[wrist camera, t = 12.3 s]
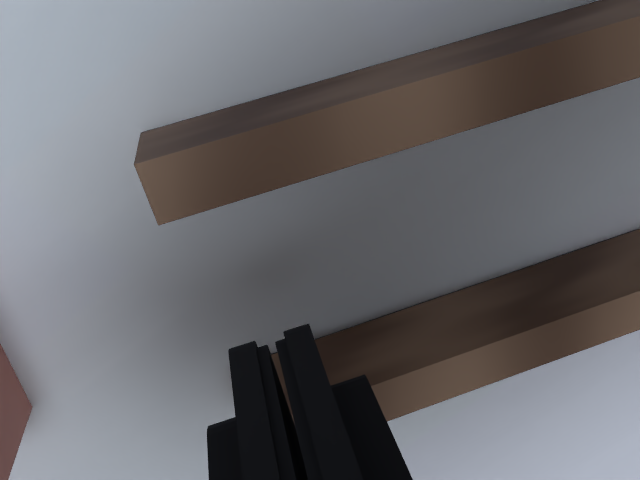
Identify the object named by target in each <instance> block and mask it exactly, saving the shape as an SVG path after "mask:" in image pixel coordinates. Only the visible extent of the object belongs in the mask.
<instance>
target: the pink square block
mask: <svg viewBox="0 0 640 480" xmlns="http://www.w3.org/2000/svg"><path fill="white" fill-rule="evenodd" d="M31 410H32V406H31V404H30V402H29V400H28V398H27V396H26V394H25V392H24V390H23V388H22V386H21V384H20V382H19V380H18V378H17V376H16V374H15V372H14V370H13V368H12V366H11V364H10V362H9V360H8V358H7V356H6V354H5V352H4V350H3V348H2V346H1V344H0V480H8V478H9V475H10V472H11V469H12V466H13V463H14V460H15V457H16V454H17V451H18V448H19V445H20V442H21V439H22V436H23V433H24V430H25V427H26V424H27V421H28V418H29V415H30V413H31Z"/></svg>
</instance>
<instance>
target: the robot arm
mask: <svg viewBox="0 0 640 480" xmlns="http://www.w3.org/2000/svg"><path fill="white" fill-rule="evenodd" d="M284 336H285V339H283V340H279V341H276V342H275V343H276V348H277V352H278V356H279V360H280V364H281V368H282V373H283V377H284V381H285V385H286V389H287V393H288V398H289V402H290V406H291V410H292V414H293V418H294V421H293V418H292V415H291V412H290V409H289V406H288V403H287V400H286V397H285V395H284V392H283V389H282V386H281V383H280V380H279V377H278V374H277V371H276V368H275V365H274V362H273V359H272V356H271V354H270V351H269V348H268V345H264V346H261V347H257V344H256V342H255V341H253V342H250V343H246V344H243V345H240V346H237V347H234V348H231V349H229V361H230V370H231V379H232V388H233V397H234V406H235V415H236V417H234V418H231V419H228V420H225V421H222V422H219V423H216V424H213V425H210V426H208V429H207V446H208V469H209V480H413V479H412V477H411V475H410V473H409V470H408V468H407V466H406V464H405V461H404V459H403V457H402V455H401V452H400V450H399V448H398V446H397V443H396V441H395V439H394V437H393V434H392V432H391V430H390V428H389V426H388V423H387V421H386V419H385V417H384V414H383V412H382V410H381V408H380V405H379V403H378V401H377V399H376V396H375V394H374V392H373V390H372V387H371V385H370V383H369V381H368V379H367V377H366V375H365V374H364V375H361V376H358V377H355V378H352V379H349V380H346V381H343V382H340V383H337V384H334V385H331V386H330V383H329V380H328V377H327V374H326V371H325V368H324V366H323V363H322V360H321V357H320V354H319V351H318V348H317V346H316V343H315V340H314V337H313V334H312V331H311V328H310V326H309V324H306V325H303V326H300V327H296V328H293V329H290V330H287V331H284ZM294 423H295V424H294Z"/></svg>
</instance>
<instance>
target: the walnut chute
mask: <svg viewBox="0 0 640 480" xmlns="http://www.w3.org/2000/svg"><path fill="white" fill-rule="evenodd" d="M639 77H640V0H600V1H596V2H593V3H589V4H586V5H582V6H579V7H576V8H572V9H569V10H565V11H562V12H558V13H555V14H551V15H548V16H544V17H541V18H537V19H534V20H530V21H527V22H524V23H520V24H517V25H513V26H510V27H506V28H503V29H499V30H496V31H492V32H489V33H485V34H482V35H478V36H475V37H472V38H468V39H465V40H461V41H458V42H454V43H451V44H447V45H444V46H440V47H437V48H433V49H430V50H426V51H423V52H419V53H416V54H413V55H409V56H406V57H402V58H399V59H395V60H392V61H388V62H385V63H381V64H378V65H374V66H371V67H367V68H364V69H361V70H357V71H354V72H350V73H347V74H343V75H340V76H336V77H333V78H329V79H326V80H322V81H319V82H315V83H312V84H309V85H305V86H302V87H298V88H295V89H291V90H288V91H284V92H281V93H277V94H274V95H270V96H267V97H263V98H260V99H256V100H253V101H250V102H246V103H243V104H239V105H236V106H232V107H229V108H225V109H222V110H218V111H215V112H211V113H208V114H204V115H201V116H198V117H194V118H191V119H187V120H184V121H180V122H177V123H173V124H170V125H166V126H163V127H159V128H156V129H152V130H149V131H146V132H142V133H141V134H140V139H139V144H138V148H137V153H136V158H135V162H134V166H135V168H136V171H137V173H138V176H139V178H140V181H141V183H142V186H143V188H144V191H145V193H146V196H147V198H148V201H149V203H150V206H151V208H152V211H153V213H154V216H155V218H156V221H157V223H158V225H161V224H165V223H168V222H171V221H174V220H178V219H181V218H184V217H187V216H191V215H194V214H197V213H200V212H204V211H207V210H210V209H213V208H217V207H220V206H223V205H226V204H230V203H233V202H236V201H239V200H243V199H246V198H249V197H252V196H256V195H259V194H262V193H265V192H269V191H272V190H275V189H278V188H282V187H285V186H288V185H291V184H295V183H298V182H301V181H304V180H308V179H311V178H314V177H317V176H321V175H324V174H327V173H330V172H334V171H337V170H340V169H343V168H346V167H350V166H353V165H356V164H359V163H363V162H366V161H369V160H372V159H376V158H379V157H382V156H385V155H389V154H392V153H395V152H398V151H402V150H405V149H408V148H411V147H415V146H418V145H421V144H424V143H428V142H431V141H434V140H437V139H441V138H444V137H447V136H450V135H454V134H457V133H460V132H463V131H467V130H470V129H473V128H476V127H480V126H483V125H486V124H489V123H493V122H496V121H499V120H502V119H506V118H509V117H512V116H515V115H519V114H522V113H525V112H528V111H532V110H535V109H538V108H541V107H545V106H548V105H551V104H554V103H558V102H561V101H564V100H567V99H571V98H574V97H577V96H580V95H584V94H587V93H590V92H593V91H597V90H600V89H603V88H606V87H610V86H613V85H616V84H619V83H623V82H626V81H629V80H632V79H636V78H639ZM637 330H640V229H638V230H635V231H632V232H629V233H626V234H623V235H620V236H617V237H614V238H612V239H609V240H606V241H603V242H600V243H597V244H594V245H591V246H588V247H585V248H582V249H579V250H576V251H573V252H571V253H568V254H565V255H562V256H559V257H556V258H553V259H550V260H547V261H544V262H541V263H538V264H535V265H532V266H530V267H527V268H524V269H521V270H518V271H515V272H512V273H509V274H506V275H503V276H500V277H497V278H494V279H491V280H489V281H486V282H483V283H480V284H477V285H474V286H471V287H468V288H465V289H462V290H459V291H456V292H453V293H450V294H448V295H445V296H442V297H439V298H436V299H433V300H430V301H427V302H424V303H421V304H418V305H415V306H412V307H409V308H407V309H404V310H401V311H398V312H395V313H392V314H389V315H386V316H383V317H380V318H377V319H374V320H371V321H368V322H365V323H363V324H360V325H357V326H354V327H351V328H348V329H345V330H342V331H339V332H336V333H333V334H330V335H327V336H324V337H322V338H319V339H316V340H315V343H316V346H317V348H318V351H319V354H320V357H321V360H322V363H323V366H324V368H325V371H326V374H327V377H328V380H329V383H330V386H331V385H334V384H337V383H340V382H343V381H346V380H349V379H352V378H355V377H358V376H361V375H364V374H365V375H366V377H367V379H368V381H369V383H370V385H371V387H372V390H373V392H374V394H375V396H376V399H377V401H378V403H379V405H380V408H381V410H382V412H383V414H384V417H385V419H386V421H390V420H392V419H395V418H398V417H401V416H403V415H406V414H409V413H412V412H414V411H417V410H420V409H423V408H425V407H428V406H431V405H434V404H436V403H439V402H442V401H445V400H447V399H450V398H453V397H456V396H458V395H461V394H464V393H467V392H469V391H472V390H475V389H478V388H480V387H483V386H486V385H489V384H491V383H494V382H497V381H500V380H502V379H505V378H508V377H511V376H513V375H516V374H519V373H522V372H524V371H527V370H530V369H533V368H535V367H538V366H541V365H544V364H546V363H549V362H552V361H555V360H557V359H560V358H563V357H566V356H568V355H571V354H574V353H577V352H579V351H582V350H585V349H588V348H590V347H593V346H596V345H599V344H601V343H604V342H607V341H610V340H612V339H615V338H618V337H621V336H623V335H626V334H629V333H632V332H634V331H637ZM271 356H272V359H273V362H274V365H275V368H276V371H277V374H278V377H279V380H280V383H281V386H282V389H283V392H284V395H285V397H286V400H287V403H288V406H289V409H290V412H291V415H292V418H293V414H292V410H291V406H290V402H289V398H288V393H287V389H286V385H285V381H284V377H283V373H282V368H281V364H280V360H279V356H278V353H275V354H272V355H271ZM293 421H294V418H293ZM294 424H295V423H294Z"/></svg>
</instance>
